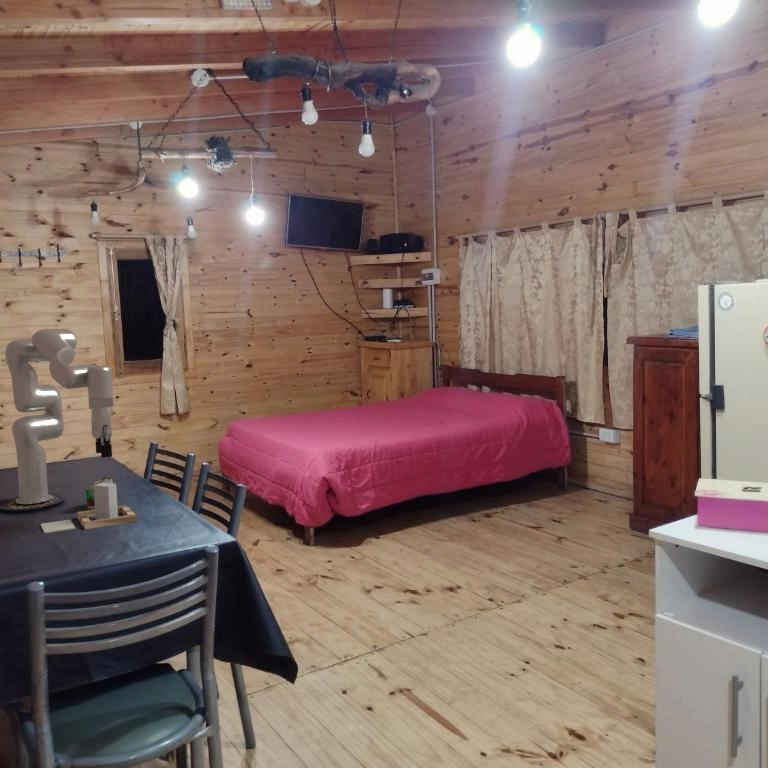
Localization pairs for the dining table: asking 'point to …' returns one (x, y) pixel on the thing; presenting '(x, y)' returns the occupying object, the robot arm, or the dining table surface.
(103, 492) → the skincare box
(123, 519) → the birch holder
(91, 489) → the food container
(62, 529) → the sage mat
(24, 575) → the dining table surface
